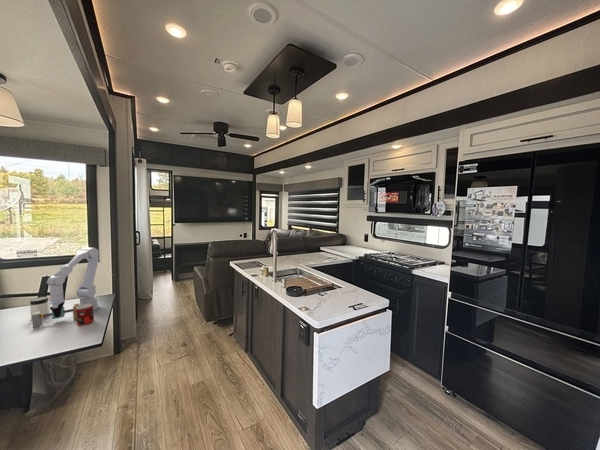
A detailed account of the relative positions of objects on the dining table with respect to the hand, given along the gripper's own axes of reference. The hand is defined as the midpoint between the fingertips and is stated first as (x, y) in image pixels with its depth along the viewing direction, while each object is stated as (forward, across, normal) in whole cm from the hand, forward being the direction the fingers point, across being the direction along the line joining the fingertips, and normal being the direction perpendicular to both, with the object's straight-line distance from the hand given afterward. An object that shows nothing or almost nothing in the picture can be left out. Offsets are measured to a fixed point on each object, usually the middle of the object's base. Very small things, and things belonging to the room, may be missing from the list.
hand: (58, 315), depth 155 cm
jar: (+4, -17, -11) cm, 21 cm away
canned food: (+4, +13, +14) cm, 19 cm away
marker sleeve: (+1, 0, 0) cm, 1 cm away
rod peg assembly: (+4, 0, 0) cm, 4 cm away
